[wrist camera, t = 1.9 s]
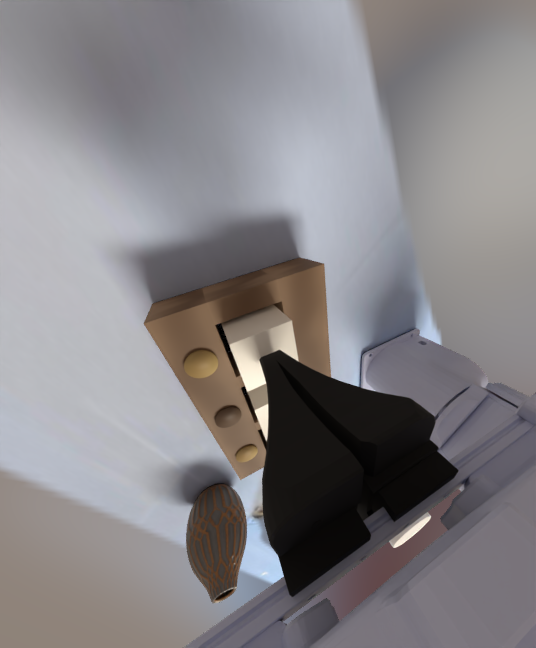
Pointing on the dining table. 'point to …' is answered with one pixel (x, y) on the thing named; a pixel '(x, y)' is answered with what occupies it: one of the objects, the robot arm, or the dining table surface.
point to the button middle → (260, 406)
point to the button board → (220, 366)
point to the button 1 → (259, 341)
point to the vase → (217, 540)
